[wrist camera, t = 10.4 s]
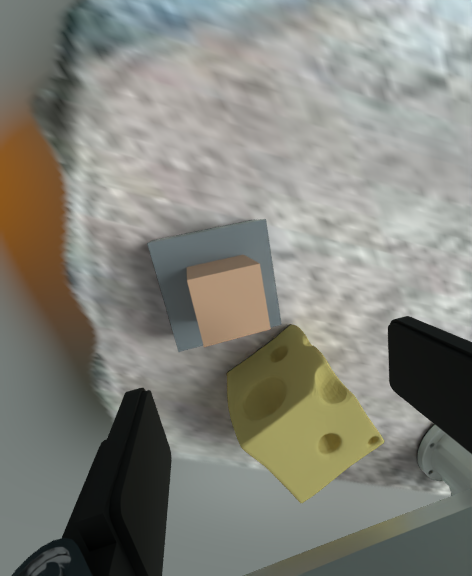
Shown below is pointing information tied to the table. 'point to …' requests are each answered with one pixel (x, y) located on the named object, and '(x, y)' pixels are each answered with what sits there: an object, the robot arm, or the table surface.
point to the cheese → (297, 415)
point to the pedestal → (202, 249)
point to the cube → (228, 299)
